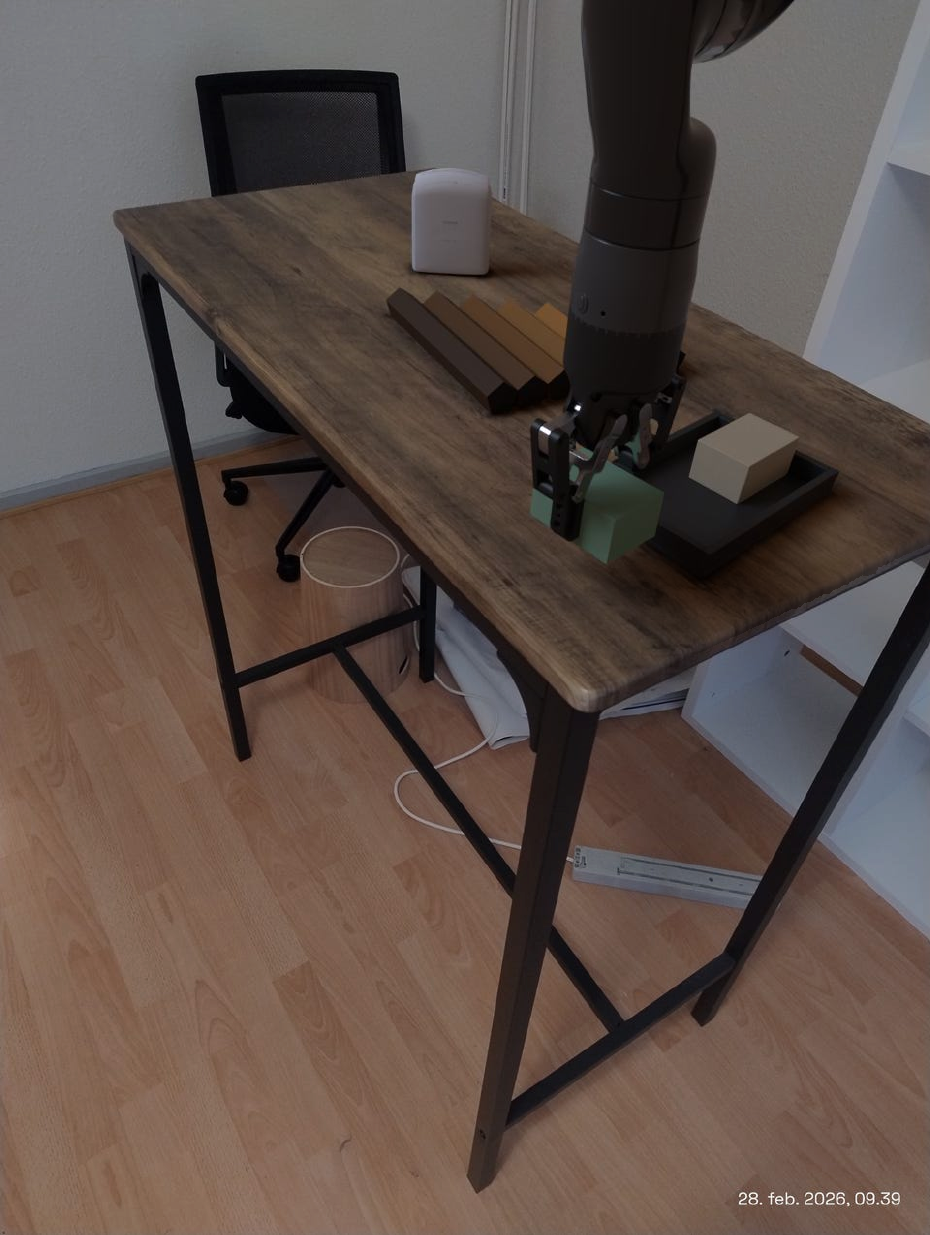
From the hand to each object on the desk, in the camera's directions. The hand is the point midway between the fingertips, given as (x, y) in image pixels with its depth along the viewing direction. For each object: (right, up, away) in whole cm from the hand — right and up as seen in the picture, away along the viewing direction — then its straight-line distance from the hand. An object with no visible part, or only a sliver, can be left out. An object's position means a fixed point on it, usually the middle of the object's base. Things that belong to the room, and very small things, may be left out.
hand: (592, 519), depth 66 cm
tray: (+12, +3, +12) cm, 18 cm away
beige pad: (+16, +6, +14) cm, 22 cm away
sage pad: (0, 0, 0) cm, 1 cm away
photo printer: (-12, +39, +49) cm, 64 cm away
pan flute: (-2, +24, +34) cm, 42 cm away
